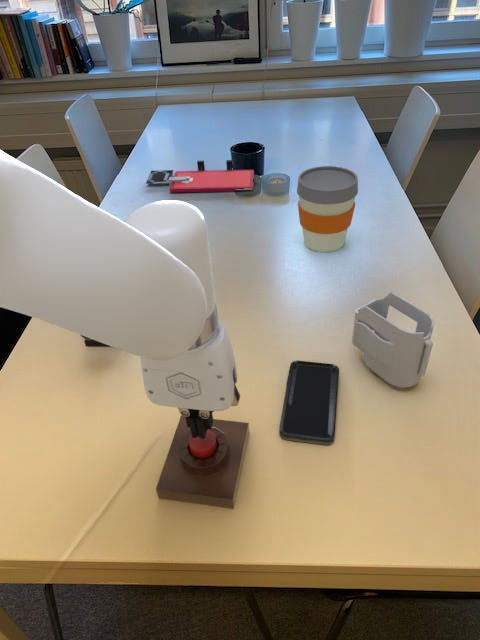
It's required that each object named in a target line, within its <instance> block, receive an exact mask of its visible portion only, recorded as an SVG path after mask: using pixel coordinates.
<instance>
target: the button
mask: <svg viewBox="0 0 480 640" xmlns="http://www.w3.org/2000/svg"><path fill="white" fill-rule="evenodd" d="M189 447H190V452H191V454H192V455H193V456H194V457H195V458H198V459H207V458H209V457H211V456H213V455H214V454H215V452H216V450H217V442H216V436H215V434H214V433H213V432H212V431H211V430H208V429H207V433H206V437H205V439H201V438H200V437H199V436H198V437H197V438H192V434H191V435H190V437H189Z"/></svg>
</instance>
